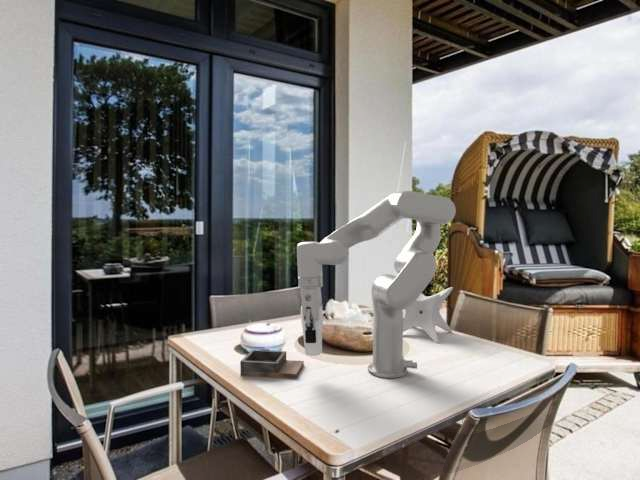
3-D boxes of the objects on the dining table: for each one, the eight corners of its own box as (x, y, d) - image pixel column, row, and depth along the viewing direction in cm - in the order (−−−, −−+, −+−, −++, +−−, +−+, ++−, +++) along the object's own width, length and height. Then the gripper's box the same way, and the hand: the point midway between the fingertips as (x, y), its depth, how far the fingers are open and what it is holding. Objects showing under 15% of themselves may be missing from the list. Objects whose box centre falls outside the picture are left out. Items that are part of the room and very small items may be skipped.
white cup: (322, 357, 128) (319, 308, 127) (300, 357, 129) (298, 308, 129) (326, 350, 135) (324, 303, 134) (305, 350, 136) (303, 303, 135)
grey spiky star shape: (452, 332, 186) (453, 287, 185) (438, 343, 169) (439, 294, 168) (408, 326, 196) (408, 283, 195) (391, 336, 179) (392, 289, 178)
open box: (303, 365, 144) (303, 352, 143) (296, 378, 132) (296, 364, 131) (252, 362, 146) (252, 349, 146) (240, 375, 134) (240, 361, 134)
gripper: (318, 286, 121) (320, 348, 123) (326, 277, 138) (328, 331, 140) (292, 287, 123) (295, 348, 124) (303, 277, 140) (306, 331, 141)
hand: (312, 338), depth 132 cm, fingers closed on white cup, 6 cm apart
